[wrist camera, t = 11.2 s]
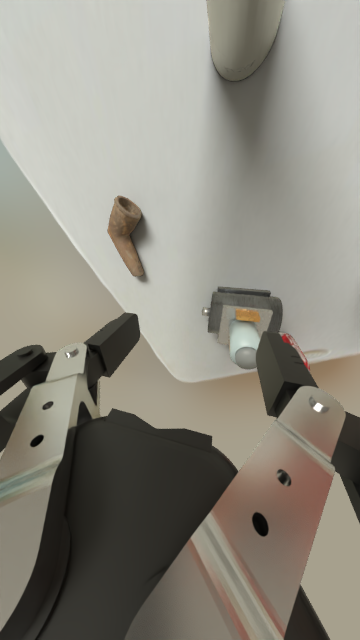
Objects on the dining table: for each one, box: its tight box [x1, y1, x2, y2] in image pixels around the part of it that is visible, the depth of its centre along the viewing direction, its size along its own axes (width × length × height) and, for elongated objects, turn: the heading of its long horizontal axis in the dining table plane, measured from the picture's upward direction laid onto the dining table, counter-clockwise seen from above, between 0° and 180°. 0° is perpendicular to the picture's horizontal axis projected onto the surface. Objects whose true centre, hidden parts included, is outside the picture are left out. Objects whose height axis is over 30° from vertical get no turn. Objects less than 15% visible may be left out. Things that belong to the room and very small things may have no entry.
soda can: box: [280, 333, 310, 372], centre depth 39 cm, size 7×7×12 cm
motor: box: [202, 287, 282, 351], centre depth 36 cm, size 10×16×14 cm, turn 90°
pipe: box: [107, 196, 144, 277], centre depth 38 cm, size 6×17×10 cm
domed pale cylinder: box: [229, 320, 260, 369], centre depth 29 cm, size 5×5×9 cm
